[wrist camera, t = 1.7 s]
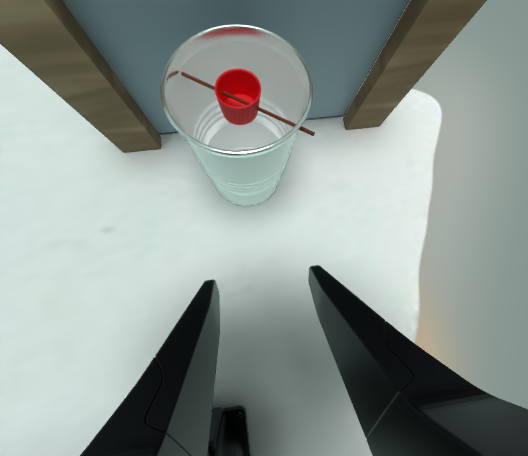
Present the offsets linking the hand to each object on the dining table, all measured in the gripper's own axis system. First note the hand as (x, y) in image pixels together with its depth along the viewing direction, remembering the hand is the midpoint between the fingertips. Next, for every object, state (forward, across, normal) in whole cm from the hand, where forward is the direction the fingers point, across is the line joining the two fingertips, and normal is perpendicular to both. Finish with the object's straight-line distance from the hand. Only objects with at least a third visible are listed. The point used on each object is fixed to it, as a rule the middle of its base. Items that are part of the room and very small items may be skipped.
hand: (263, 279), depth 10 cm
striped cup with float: (+16, 0, +2) cm, 17 cm away
